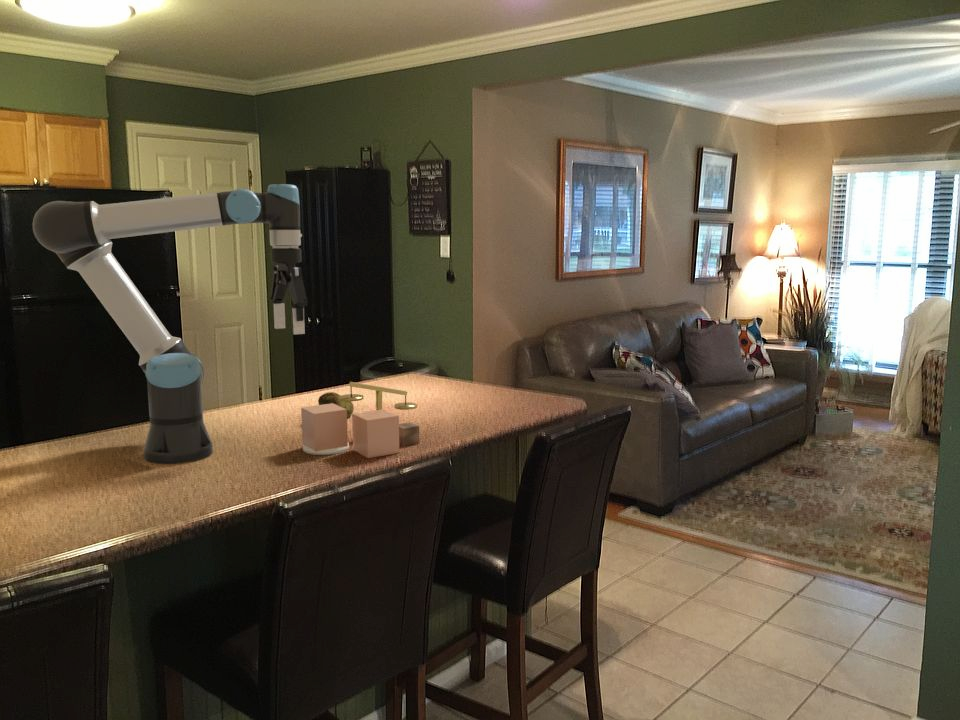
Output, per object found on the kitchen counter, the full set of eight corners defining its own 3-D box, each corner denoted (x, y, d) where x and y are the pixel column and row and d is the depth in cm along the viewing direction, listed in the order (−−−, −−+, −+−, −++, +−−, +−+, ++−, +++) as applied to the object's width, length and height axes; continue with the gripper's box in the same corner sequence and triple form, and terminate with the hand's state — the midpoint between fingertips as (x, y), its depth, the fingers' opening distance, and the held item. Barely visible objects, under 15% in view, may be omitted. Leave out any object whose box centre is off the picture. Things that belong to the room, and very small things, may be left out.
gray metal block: (403, 446, 197) (403, 428, 196) (394, 442, 201) (394, 424, 200) (419, 443, 200) (419, 425, 199) (410, 439, 203) (410, 422, 203)
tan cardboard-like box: (368, 458, 187) (367, 420, 185) (353, 450, 194) (352, 413, 192) (399, 452, 191) (398, 415, 190) (383, 445, 198) (382, 409, 196)
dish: (313, 457, 187) (313, 453, 187) (295, 447, 196) (295, 443, 196) (356, 450, 193) (356, 446, 193) (337, 440, 202) (337, 436, 202)
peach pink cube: (315, 451, 189) (314, 413, 187) (302, 443, 196) (301, 407, 194) (347, 446, 193) (346, 409, 192) (333, 438, 200) (332, 403, 199)
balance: (346, 442, 200) (344, 385, 198) (336, 437, 205) (334, 381, 202) (421, 430, 212) (420, 376, 209) (410, 426, 217) (409, 373, 214)
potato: (365, 416, 228) (364, 389, 226) (329, 425, 218) (328, 396, 217) (346, 412, 233) (345, 385, 232) (310, 420, 223) (309, 392, 222)
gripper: (319, 248, 194) (322, 335, 197) (282, 246, 214) (286, 325, 218) (289, 248, 190) (292, 337, 193) (255, 246, 210) (258, 327, 214)
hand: (289, 331), depth 206 cm, fingers open, 13 cm apart
